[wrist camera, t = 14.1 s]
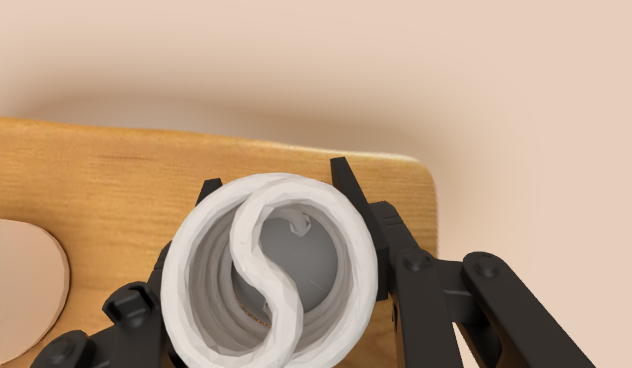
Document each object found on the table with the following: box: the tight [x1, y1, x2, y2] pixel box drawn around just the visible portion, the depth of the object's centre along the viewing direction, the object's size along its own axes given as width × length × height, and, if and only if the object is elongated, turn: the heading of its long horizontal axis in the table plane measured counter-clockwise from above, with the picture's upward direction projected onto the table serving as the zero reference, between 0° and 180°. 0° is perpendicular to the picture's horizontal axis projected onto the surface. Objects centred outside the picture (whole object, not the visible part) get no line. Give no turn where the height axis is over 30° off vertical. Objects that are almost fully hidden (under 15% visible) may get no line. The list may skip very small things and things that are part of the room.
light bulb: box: [160, 172, 378, 368], centre depth 12 cm, size 6×6×12 cm
